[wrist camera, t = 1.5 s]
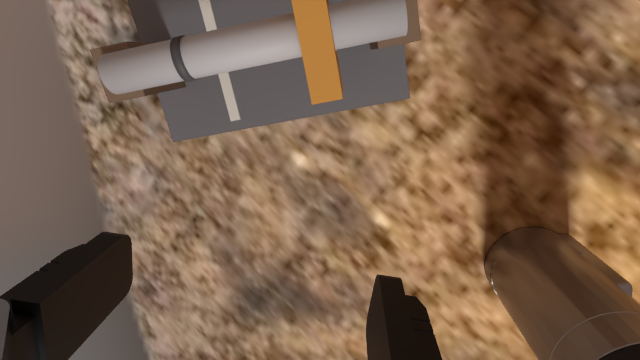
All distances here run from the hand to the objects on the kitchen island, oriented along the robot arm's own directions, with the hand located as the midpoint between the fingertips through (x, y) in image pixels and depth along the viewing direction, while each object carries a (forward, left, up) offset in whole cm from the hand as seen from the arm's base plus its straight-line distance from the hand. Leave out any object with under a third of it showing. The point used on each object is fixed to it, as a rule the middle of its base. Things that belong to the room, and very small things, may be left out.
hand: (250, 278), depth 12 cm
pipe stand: (+2, -8, -28) cm, 29 cm away
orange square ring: (-3, -8, -23) cm, 24 cm away
